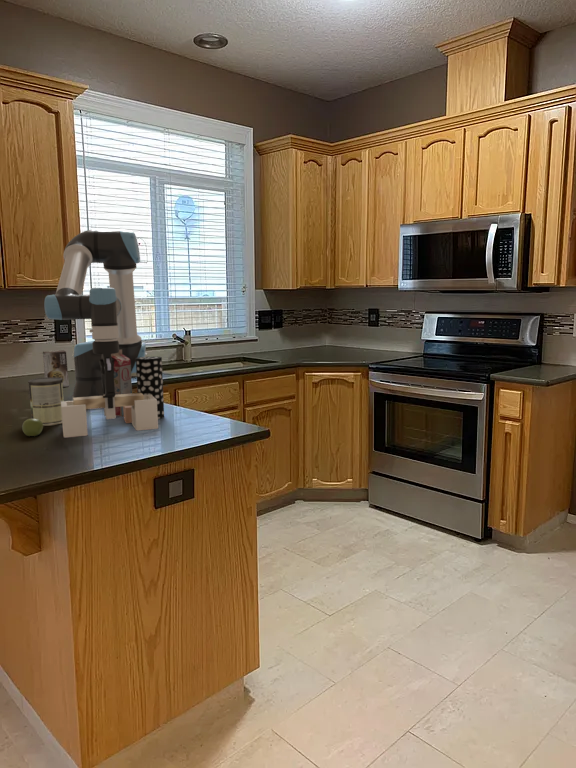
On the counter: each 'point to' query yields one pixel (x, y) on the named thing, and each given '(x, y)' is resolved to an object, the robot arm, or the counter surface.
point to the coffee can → (46, 399)
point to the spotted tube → (151, 380)
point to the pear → (32, 427)
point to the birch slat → (99, 401)
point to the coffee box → (56, 365)
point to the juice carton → (121, 377)
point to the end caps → (77, 421)
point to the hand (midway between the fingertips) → (109, 416)
